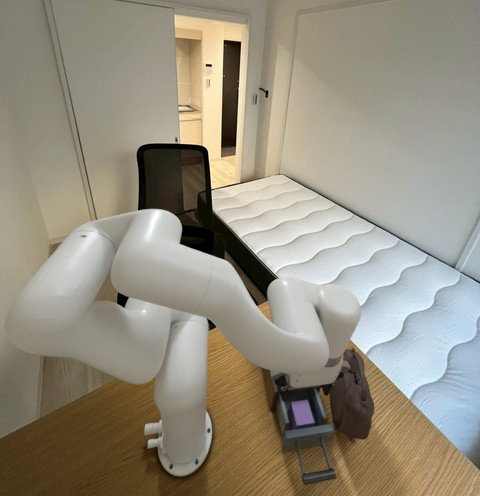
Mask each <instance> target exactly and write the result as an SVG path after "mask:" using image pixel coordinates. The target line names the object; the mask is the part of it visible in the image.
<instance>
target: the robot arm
mask: <svg viewBox="0 0 480 496" xmlns="http://www.w3.org/2000/svg"><path fill="white" fill-rule="evenodd" d="M182 232H183V226H182V223H181V220H180V219H179V218H178V216H177V215H175V214H174V213H172V212H170V211H169V210H165V209H159V208H147V209H140V210H134V211H129V212H125V213H121V214H117V215H112V216H108V217H104V218H99V219H95V220H91V221H89V222H86V223H83V224H81V225H79V226H78V227H76V228H74V229H73V230H72V231H71V232H70V233H69V234H68V235H67V236H66V238H64V240H63V241H62V242H61V243H60V244H59V246H58V247H57V248H56V249H55V250H54V251H53V253H52V254H51V255H50V256H49V257H48V258H47V259H46V260H45V261H44V262H43V263H42V265H41V266H40V267H39V268H38V269H37V270H36V272H35V273H34V274H33V275H32V276H31V278H30V279H29V280H28V281H27V282H26V284H25V285H24V287H23V288H22V289H21V291H20V292H19V293H18V295H17V296H16V297H15V299H14V300H13V302H12V304H11V306H10V307H9V310H8V311H7V314H6V317H5V321H4V331H5V335H6V337H7V339H8V340H9V342H10V343H11V344H12V345H14V346H15V347H16V348H18V349H20V350H21V351H23V352H26V353H28V354H32V355H37V356H41V357H50V358H51V357H52V358H66V359H71V360H75V361H78V362H81V364H82V363H83V364H85V365H86V366H89V367H91V368H93V369H96V370H97V371H100V372H102V373H105V374H107V375H109V376H111V377H114V378H116V379H118V380H121V381H123V382H125V383H128V384H132V385H139V386H140V385H144V384H148V383H149V382H151V381H153V380H154V378H155V381H154V388H153V401H154V404H155V406H156V407H157V409H158V410H159V415H160V416H159V417H160V420H159V422H150V423H149V422H148V423H145V425H144V430H143V436H152V435H154V434H157V438H151V439H148V440H147V449H154V448H157V454H158V458H159V461H160V463H161V465H162V467H163V469H164V470H165V471H166V472H167V473H168V474H170V475H172V476H175V477H179V478H180V477H187V476H189V475H191V474H192V473H194V472H196V470H198V469H199V468H200V467H201V466H202V465H203V463H204V461H205V460H206V459H207V456H208V454H209V451H210V448H211V444H212V439H213V426H212V425H213V424H212V421H211V417H210V414H209V413H208V410H207V395H208V394H207V393H208V374H209V373H208V371H209V321H211V322H212V324H214V325H215V327H216V329H217V330H218V331H219V333H220V334H221V335H222V336H223V337H224V339H225V340H226V341H227V342H228V343H229V344H230V345H231V346H232V347H233V348H234V349H235V350H236V351H237V352H238V353H240V355H242V357H244V358H245V359H246V360H248V361H249V363H252V364H253V365H255V366H257V367H259V368H261V369H263V368H264V369H268V370H270V374H271V378H272V380H273V381H274V382H275V385H277V390H278V394H279V395H281V399H282V401H285V400H286V398H287V395H288V393H289V390H288V389H289V388H290V387H295V388H299V387H309V386H317V385H321V390H322V393H323V395H324V396H325V397H328V396H330V395H329V393H330V391H331V389H332V385H335V384H337V381H336V380H338V379H339V378H342V377H343V376H344V373H346V372H347V371H349V370H350V369H351V368H350V366H349V364H348V362H347V361H344V360H343V354H344V351H345V350H346V349H347V348H348V345H349V343H350V341H351V339H352V337H353V335H354V333H355V330H356V328H357V326H358V325H359V323H360V320H361V318H362V308H361V307H362V306H361V304H360V302H359V299H358V298H357V297H356V295H355V294H354V293H352V292H351V290H349V289H348V288H346V287H344V286H342V285H339V284H336V283H327V284H324V285H322V284H318V283H314V282H310V281H306V280H302V279H300V278H299V279H298V278H294V277H278V278H276V279H274V280H273V281H271V282H270V283H269V285H268V288H267V291H266V296H267V303H268V308H269V312H270V317H271V320H270V319H269V318H267V317H266V315H264V314H263V312H262V311H261V310H260V308H259V307H258V306H257V305H256V303H255V301H254V299H253V298H252V296H251V295H250V293H249V291H248V289H247V287H246V285H245V283H244V282H243V279H242V278H241V276H240V275H239V273H238V272H237V270H236V269H235V267H234V266H233V265H232V264H231V263H230V262H229V261H227V260H226V259H223V258H220V257H217V256H215V255H212V254H209V253H206V252H203V251H201V250H197V249H194V248H191V247H189V246H186V245H184V244H181V238H182ZM109 273H110V282H111V285H112V286H113V288H114V289H115V291H117V293H119V294H120V295H123V296H125V297H128V299H127V300H126V303H125V306H124V307H123V306H122V305H120V304H118V303H116V302H115V301H111V300H103V299H102V300H95V299H96V297H97V295H98V294H99V292H100V290H101V287H102V286H103V284H104V283H105V281H106V279H107V277H108V275H109ZM208 320H209V321H208ZM286 375H288V378H289V381H288V382H286V378H285V376H286Z"/></svg>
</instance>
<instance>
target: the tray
mask: <svg viewBox="0 0 480 496" xmlns="http://www.w3.org/2000/svg"><path fill="white" fill-rule="evenodd" d="M319 394H320V393H319ZM319 394H318V391H317V388H311V389H304V390H296V391H289V393H288V395H287V398H286V400H285V401H282V399H281V395H279V394H278V393H277V396H276V400H275V404H276V408H275V409H276V413H277V418H278V423H279V429H280V432H281V436H282V440H281V442H280V448H281V452H286V451H287V452H289V451H293V450H296V454H297V457H298V461H299V462H298V463H299V466H300V469H301V470H300V471H301V481H302V484H303V486H307V485H311V484H316V483H317V484H318V483H322V482H327V481H331V480H336V479H337V473H336V471H335V469H334V468H333V466H332V462H331V459H330V457H329V453H328V450H327V447H326V445H327V444H329V442H330V440H331V438H332V436H333V434H334V433H335V430H334V424H333V423H328V424H324V423H325V421H326V419H327V415H326V412H325V409H324V405H323V403H322V400H321V397H320V395H319ZM302 400H308V403H309V406H310V409H311V412H312V416H313V419H314V422H315V423H314V426H313V427H309V428H302V429H296V430H293V428H292V424H291V420H290V416H289V412H288V410H289V407H290V404H291V402H295V401H302ZM315 446H321V447H322V451H323V454H324V457H325V459H326V464H327V467H328V469H322V470H317V471H312V472H306V469H305V464H304V462H303V457H302V452H301V449H304V448H310V447H315Z"/></svg>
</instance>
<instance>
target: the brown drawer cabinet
mask: <svg viewBox="0 0 480 496" xmlns="http://www.w3.org/2000/svg"><path fill="white" fill-rule="evenodd" d="M262 371H263V376H264V382H265V383H264V384H265V388H266V393H267V399H268V404H269V408H270V410H272V409H276V404H275V400H276V396H277V393H278V390H277V385H275V382H274V381H273V380H272V378H271V374H270V370H268V369H264V368H262ZM285 378H286V382H288V381H289V378H288V375H286V376H285ZM311 388H317V391H318V394H320V393H321V390H322V388H321V385H317V386H309V387H299V388H295V387H290V388H289V389H288V390H289V391H296V390H304V389H311Z"/></svg>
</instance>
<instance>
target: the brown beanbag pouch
mask: <svg viewBox="0 0 480 496" xmlns="http://www.w3.org/2000/svg"><path fill="white" fill-rule="evenodd" d="M343 360H344V361H347V362H348V364H349V366H350V368H351V369H350V370H349V371H347V372H346V373H344V376H343V377H342V378H339V379H338V380H336V381H337V384H335V385H332V389H331V391H330V393H329V395H328V396H329V407H330V413H331V420H332V425H333V428H334V432H335V431H336V432H337V433H338V434H340V435H343V436H346V437H348V438H350V439H351V440H353V439H355V440H362V441H365V440H367V439H368V437H369V435H370V431H371V428H372V422H373V416H374V414H375V408H376V407H375V402H374V399H373V397H372V395H371V390H370V386H369V382H368V378H367V376H366V373H365V361H364V359H363V357H362V355H360V354H359V352H357V351H356V348H355V347H352V348H350V349H349V348H348V349H347V348H346V349H345V351H344V354H343Z"/></svg>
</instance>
